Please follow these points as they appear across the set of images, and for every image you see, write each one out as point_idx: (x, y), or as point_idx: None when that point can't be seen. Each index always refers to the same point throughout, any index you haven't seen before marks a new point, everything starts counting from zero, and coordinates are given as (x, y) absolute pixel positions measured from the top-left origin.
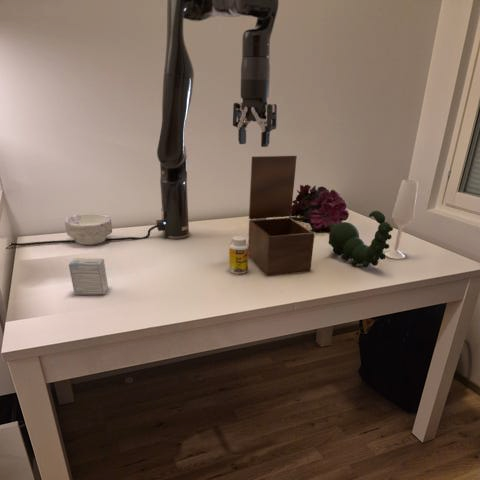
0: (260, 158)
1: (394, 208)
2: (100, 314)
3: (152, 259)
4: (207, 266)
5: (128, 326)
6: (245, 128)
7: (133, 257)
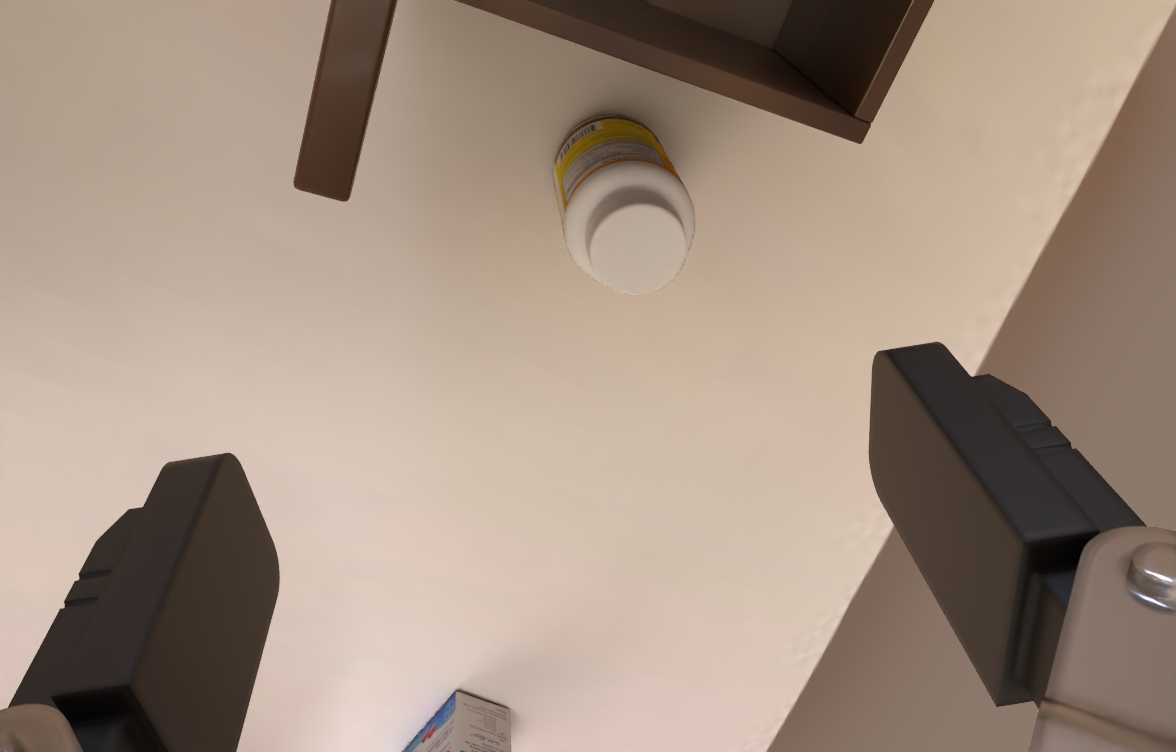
0: (390, 28)
1: None
2: (643, 740)
3: None
4: (444, 277)
5: (770, 703)
6: (59, 715)
7: None
